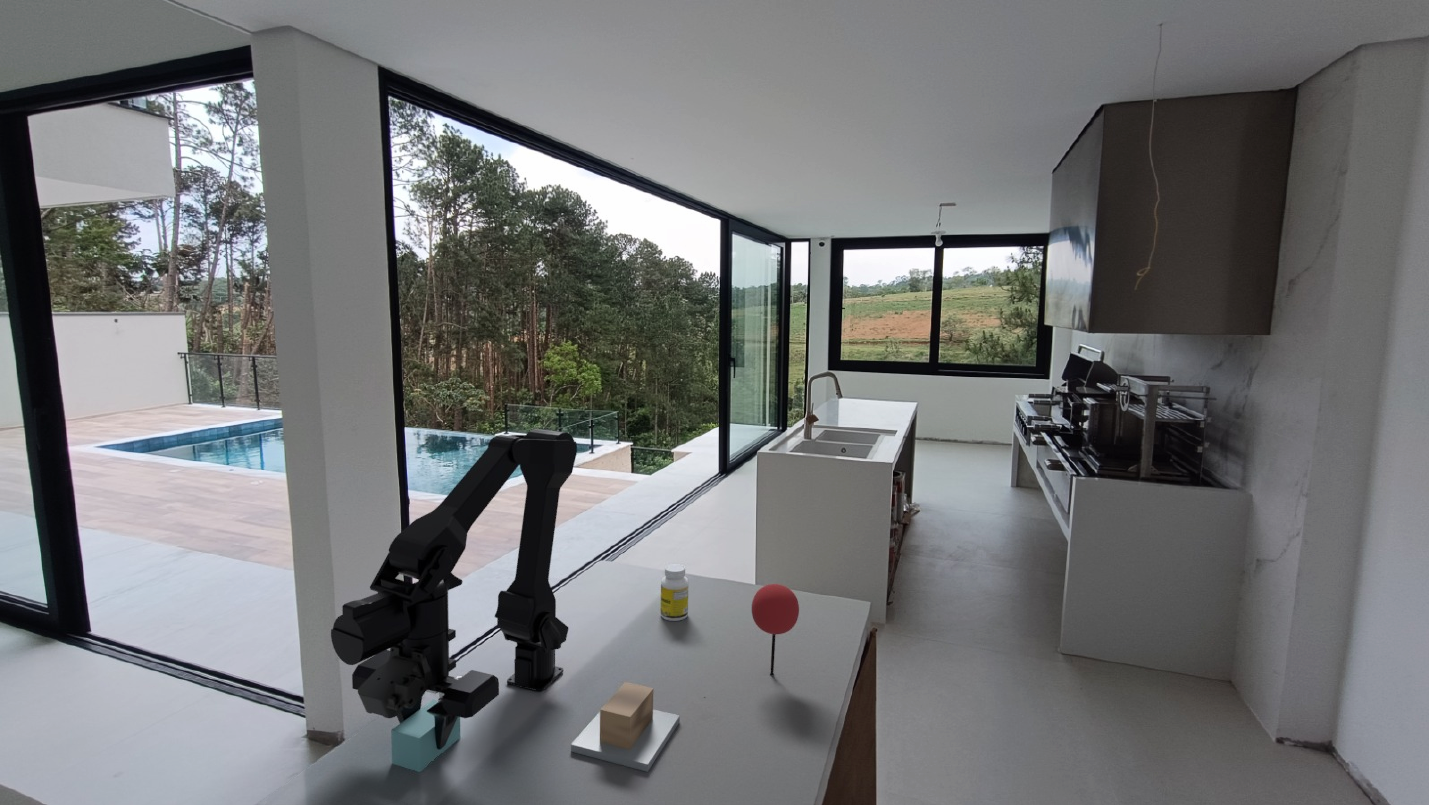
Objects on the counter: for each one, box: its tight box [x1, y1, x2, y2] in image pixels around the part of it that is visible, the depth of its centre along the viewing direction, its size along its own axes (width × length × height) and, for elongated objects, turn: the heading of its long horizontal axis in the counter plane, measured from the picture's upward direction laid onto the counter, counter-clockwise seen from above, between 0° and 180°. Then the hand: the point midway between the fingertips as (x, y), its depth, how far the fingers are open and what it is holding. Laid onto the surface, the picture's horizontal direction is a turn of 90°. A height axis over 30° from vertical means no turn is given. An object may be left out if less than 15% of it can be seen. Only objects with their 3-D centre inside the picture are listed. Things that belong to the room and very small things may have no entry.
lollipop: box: [751, 583, 800, 676], centre depth 103 cm, size 8×8×15 cm
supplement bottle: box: [659, 563, 689, 622], centre depth 123 cm, size 5×5×10 cm
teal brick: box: [390, 699, 461, 773], centre depth 82 cm, size 7×4×4 cm, turn 162°
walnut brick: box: [599, 681, 654, 750], centre depth 86 cm, size 7×4×4 cm, turn 161°
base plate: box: [570, 708, 681, 773], centre depth 86 cm, size 11×11×1 cm
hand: (426, 743), depth 82 cm, fingers closed on teal brick, 4 cm apart
